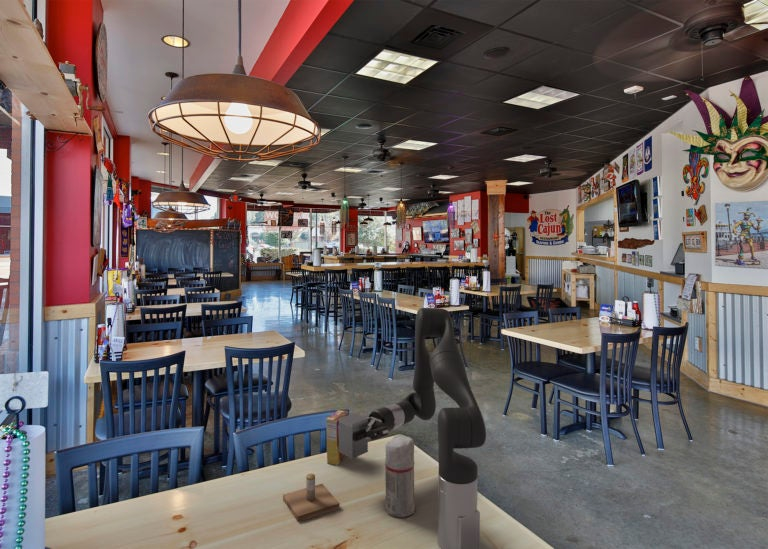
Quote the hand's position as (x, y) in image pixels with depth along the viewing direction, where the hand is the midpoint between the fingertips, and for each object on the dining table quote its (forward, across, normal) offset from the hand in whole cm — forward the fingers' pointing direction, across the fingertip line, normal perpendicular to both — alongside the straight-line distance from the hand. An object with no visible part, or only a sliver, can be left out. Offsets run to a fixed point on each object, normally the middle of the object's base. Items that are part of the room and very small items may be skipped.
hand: (347, 434), depth 127 cm
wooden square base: (+10, -3, +18) cm, 21 cm away
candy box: (-12, -19, +18) cm, 29 cm away
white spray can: (-5, +16, +18) cm, 25 cm away
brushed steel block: (-2, 0, +6) cm, 6 cm away
